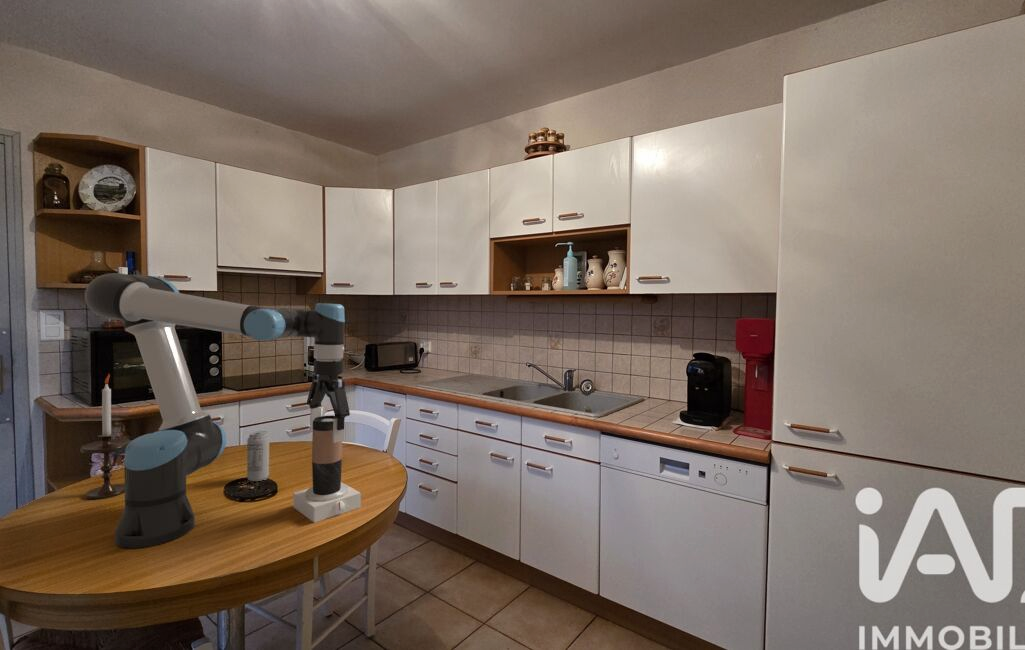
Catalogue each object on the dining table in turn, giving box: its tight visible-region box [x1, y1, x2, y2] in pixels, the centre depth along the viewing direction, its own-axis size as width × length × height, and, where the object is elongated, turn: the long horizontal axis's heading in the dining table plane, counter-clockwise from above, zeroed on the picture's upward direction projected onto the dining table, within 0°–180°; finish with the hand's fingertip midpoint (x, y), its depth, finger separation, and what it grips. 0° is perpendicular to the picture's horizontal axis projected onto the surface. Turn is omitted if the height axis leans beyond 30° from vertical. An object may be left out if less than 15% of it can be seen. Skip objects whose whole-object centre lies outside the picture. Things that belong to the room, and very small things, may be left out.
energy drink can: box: [246, 430, 270, 482], centre depth 142 cm, size 6×6×15 cm
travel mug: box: [311, 415, 343, 495], centre depth 124 cm, size 8×8×20 cm
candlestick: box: [80, 374, 132, 501], centre depth 129 cm, size 11×11×35 cm
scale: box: [292, 481, 362, 524], centre depth 124 cm, size 13×14×5 cm
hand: (326, 436), depth 123 cm, fingers open, 13 cm apart
